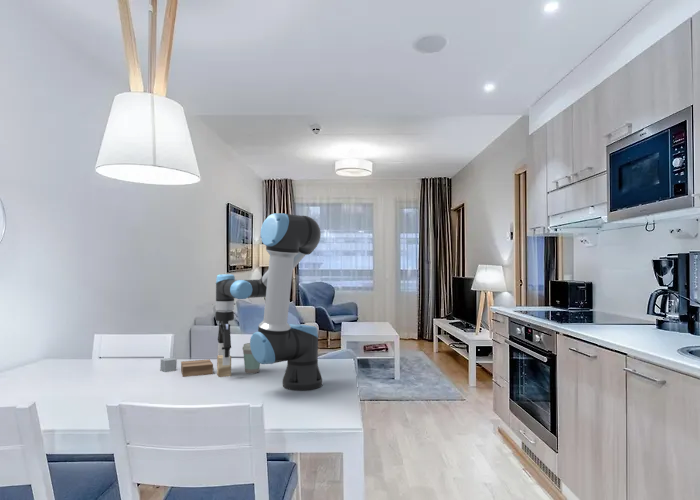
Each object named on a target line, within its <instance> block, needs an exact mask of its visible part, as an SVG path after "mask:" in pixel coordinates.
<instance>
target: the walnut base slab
mask: <svg viewBox="0 0 700 500" xmlns="http://www.w3.org/2000/svg"><path fill="white" fill-rule="evenodd" d="M180 372H181V375H182V377H183V378H185V377H195V376H196V377H197V376H206V375H213V374H214V364H213V362H212V361H211V359H195V360H185V361H180Z"/></svg>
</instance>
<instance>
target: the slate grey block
mask: <svg viewBox="0 0 700 500" xmlns="http://www.w3.org/2000/svg"><path fill="white" fill-rule="evenodd" d="M177 362H178V361H177V358H174V357H167V358H162V359H161V358H160V371H161V372H163V373H169V372H175V371H177V364H178V363H177Z"/></svg>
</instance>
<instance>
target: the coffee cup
mask: <svg viewBox="0 0 700 500" xmlns="http://www.w3.org/2000/svg"><path fill="white" fill-rule="evenodd" d="M242 351H243V352H242V354H243V362H244V371H245V372H246V374H249V373H253V374H258V373H259V372H260V367H261V364H260V363H258V362H257V361H256V360H255V358H254V356H253V354H252V352H251V348H250V342H246V343H244V344H243V346H242ZM257 372H258V373H257Z"/></svg>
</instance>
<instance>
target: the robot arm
mask: <svg viewBox="0 0 700 500" xmlns="http://www.w3.org/2000/svg"><path fill="white" fill-rule="evenodd" d="M320 228H321V227H320V226H319V224H318V222H317V221H316V220H315V219H314V218H312V217H310V216H308V215H299V214H291V213H290V214H289V213H279V212H278V213H271V214H269V215H268V216H267V217H266V219H264V221H263V222H262V224H261V228H260V238H261V242H262V244H263V245H265V246H266V248H265V251H266V252H267V253H268V254H269V260H268V269H267V270H266V272H265V273H264V274H263V275H262V276H261V277H260V279H236V278H235V277H236V276H235V275H234V274H232V273H231V274H230V273H229V274H227V273H226V274H225V273H223V274H218V275H216V282H215V310H216V311H215V317H214V319H215V321H217V322H218V324H219V325H218V332H217V333H218V334H217V342H218V344H217V345H218V346H217V356H218V355H223V365H230V356H231V349H232V340H231V338H232V337H231V324H229V322H231V321H234V318H235V311H234V309H235V305H236V302H235V299H237V300H245V299H254V298H265V301H264V311H263V320H261V322H260V323H258V328H257V331H255V332H254V333H252V335H251V336H250V340H249V343H250V348H251V352H252V354H253V356H254V358H255V360H256V361H257V362H258V363H260V365H273V364H277V363H281V362H282V363H283V362H286V361H287V363H286V368H285V370H284V371H285V372H284V375H283V378H282V387H283V388H284V389H286V390H292V391H309V390H310V391H311V390H316V389H318V388H321V387H322V386H323V377H322V374H321V371H320V367H319V364H318V363H319V362H318V361H319V354H318V353H319V336H318V333H319V331H318V328H317V327H316V326H313V325H307V324H296V323H288V318H289V310H290V309H289V308H290V299H291V289H292V280H293V271H294V269H295V268H296V267H297V265H299V263H301V261H302V260H303V259H304V258H305V256H307V255H310V254H311V255H312V253H313V252H314V250H316V248H317V246H318V245H319V243H320V240H321V236H322V235H321V234H322V232H321V229H320Z"/></svg>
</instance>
